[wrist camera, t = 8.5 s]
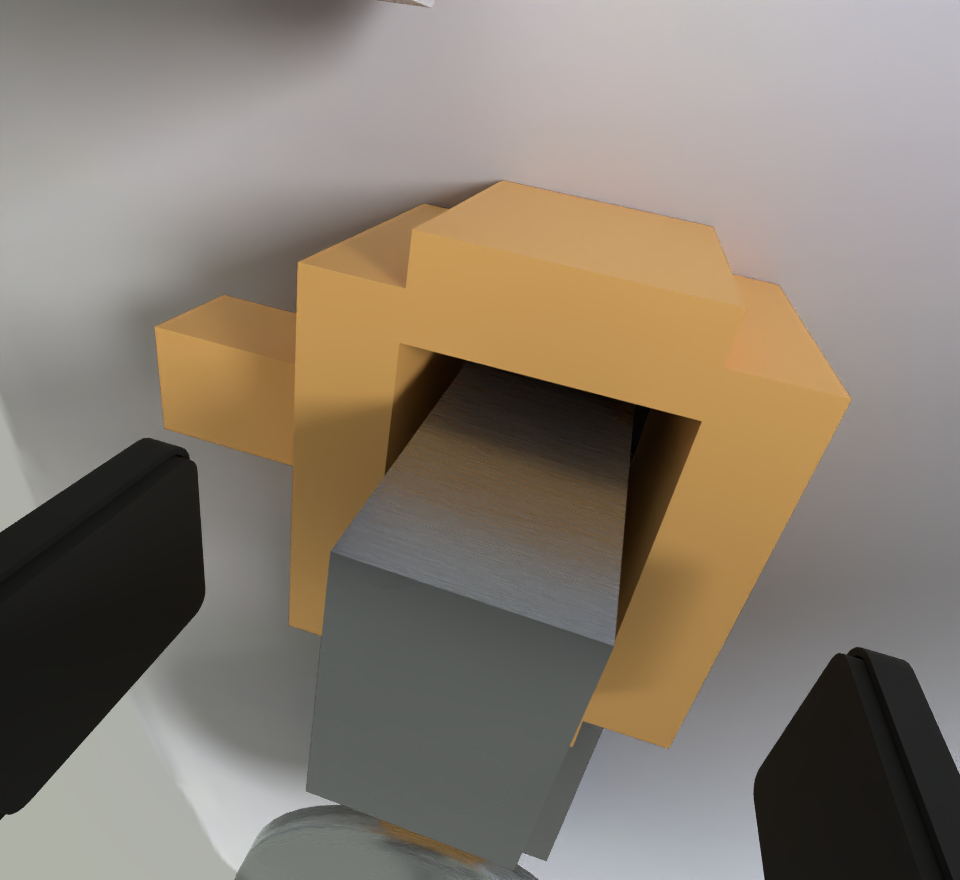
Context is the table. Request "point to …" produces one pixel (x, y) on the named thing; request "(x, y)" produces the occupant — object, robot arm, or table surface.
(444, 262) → the bracket head
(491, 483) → the rectangular block
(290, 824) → the grey disc with stub
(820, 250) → the table surface
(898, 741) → the robot arm
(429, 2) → the game console
